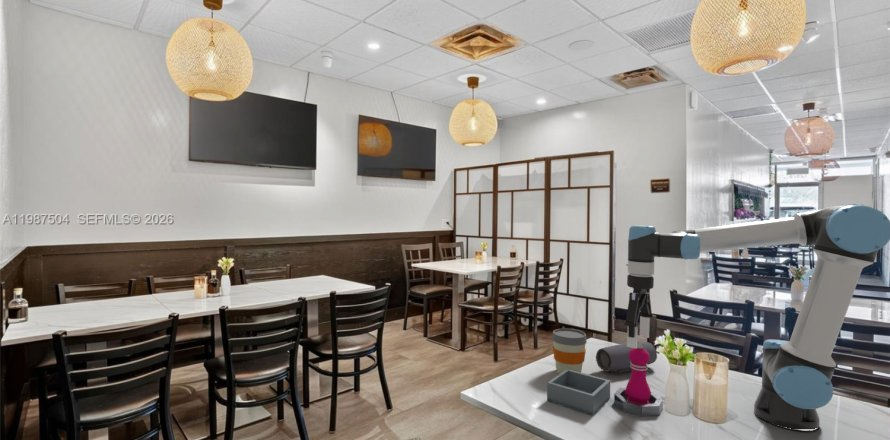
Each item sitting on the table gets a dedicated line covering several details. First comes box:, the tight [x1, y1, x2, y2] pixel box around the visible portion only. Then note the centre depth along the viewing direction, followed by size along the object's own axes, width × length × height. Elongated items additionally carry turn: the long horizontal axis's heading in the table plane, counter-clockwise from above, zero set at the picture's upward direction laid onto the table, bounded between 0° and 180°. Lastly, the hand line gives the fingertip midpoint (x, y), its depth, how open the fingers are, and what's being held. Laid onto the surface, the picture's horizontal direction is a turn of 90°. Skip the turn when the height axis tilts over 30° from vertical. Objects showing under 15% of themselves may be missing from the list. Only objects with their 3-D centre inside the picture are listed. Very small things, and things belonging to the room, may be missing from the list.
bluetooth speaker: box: [595, 341, 658, 374], centre depth 163 cm, size 23×9×10 cm, turn 112°
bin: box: [546, 369, 611, 417], centre depth 137 cm, size 15×15×6 cm
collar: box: [613, 387, 664, 417], centre depth 133 cm, size 13×13×3 cm
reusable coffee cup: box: [551, 328, 587, 375], centre depth 160 cm, size 13×13×15 cm
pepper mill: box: [625, 343, 652, 404], centre depth 133 cm, size 7×7×20 cm
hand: (638, 342), depth 132 cm, fingers open, 13 cm apart
